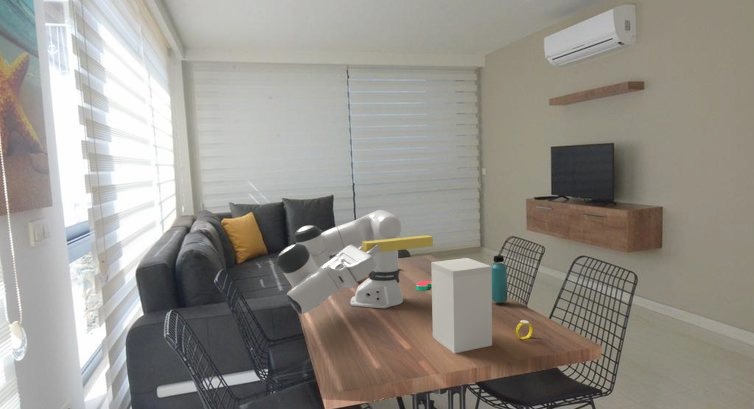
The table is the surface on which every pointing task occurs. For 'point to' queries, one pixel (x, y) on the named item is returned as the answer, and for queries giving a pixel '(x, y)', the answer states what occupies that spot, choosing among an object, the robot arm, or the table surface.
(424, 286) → the pink curvy flat shape
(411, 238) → the mustard bar
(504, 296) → the beverage bottle
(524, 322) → the gold ring
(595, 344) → the table surface
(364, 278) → the bread roll
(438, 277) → the off-white stand
